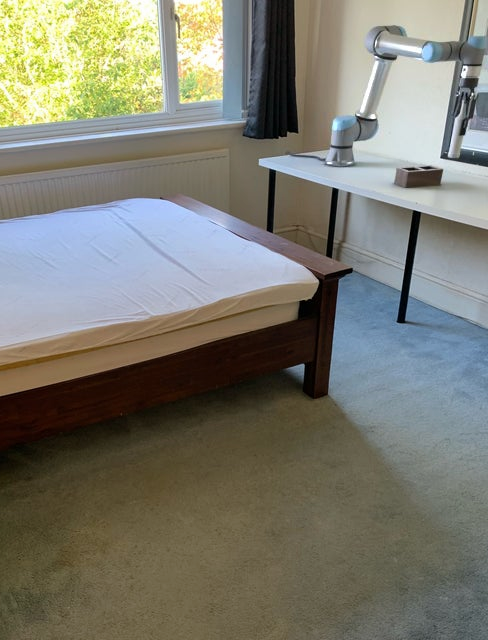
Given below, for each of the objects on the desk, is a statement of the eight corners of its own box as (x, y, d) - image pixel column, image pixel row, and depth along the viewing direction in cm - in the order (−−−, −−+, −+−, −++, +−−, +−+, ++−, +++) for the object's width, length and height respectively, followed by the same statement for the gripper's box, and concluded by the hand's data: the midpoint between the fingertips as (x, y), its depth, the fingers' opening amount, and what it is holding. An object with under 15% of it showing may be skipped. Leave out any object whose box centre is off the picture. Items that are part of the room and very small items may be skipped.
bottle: (453, 158, 273) (465, 98, 260) (445, 156, 277) (456, 97, 264) (461, 157, 275) (474, 97, 261) (453, 155, 279) (465, 96, 265)
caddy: (394, 183, 279) (396, 167, 275) (428, 180, 282) (431, 165, 279) (405, 187, 271) (408, 171, 267) (440, 184, 274) (443, 169, 271)
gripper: (450, 76, 265) (439, 132, 277) (475, 78, 250) (463, 138, 263) (464, 75, 266) (453, 131, 279) (491, 78, 252) (477, 137, 264)
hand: (458, 134), depth 271 cm, fingers closed on bottle, 5 cm apart
